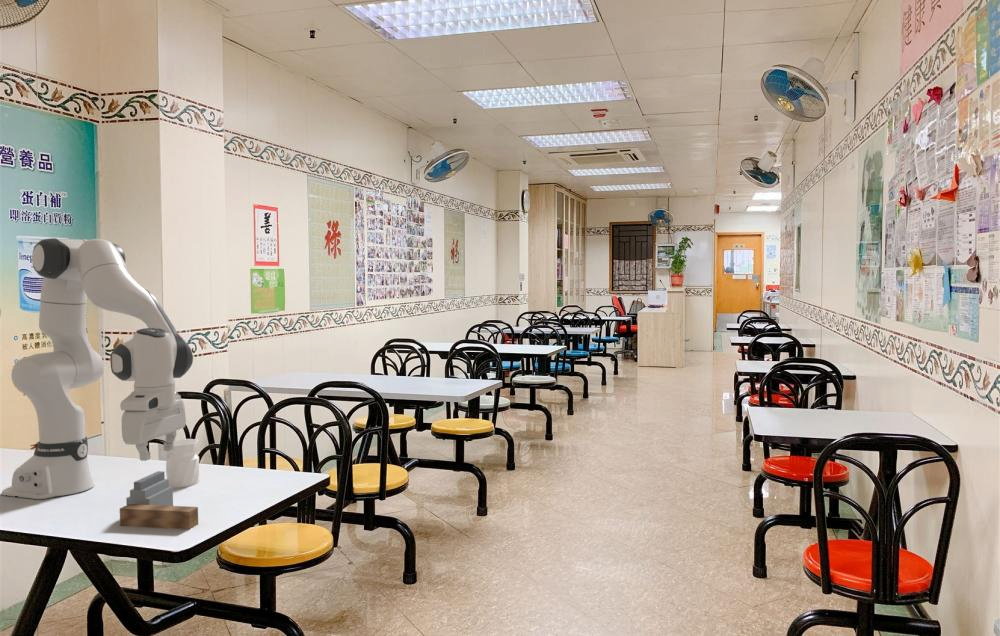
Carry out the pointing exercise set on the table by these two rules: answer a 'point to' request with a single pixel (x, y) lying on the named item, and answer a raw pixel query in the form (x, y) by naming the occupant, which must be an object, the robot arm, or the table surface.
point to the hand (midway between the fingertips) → (157, 455)
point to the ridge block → (152, 491)
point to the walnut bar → (159, 516)
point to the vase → (183, 463)
